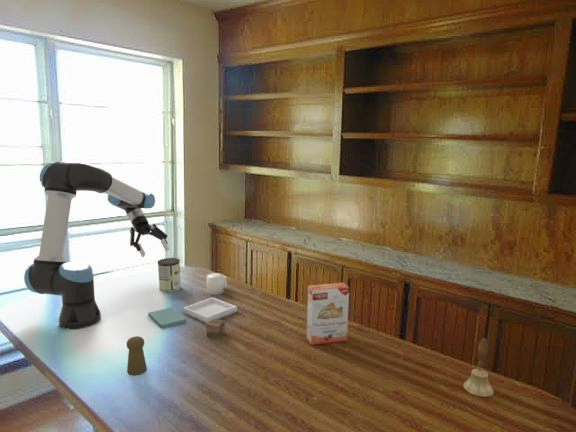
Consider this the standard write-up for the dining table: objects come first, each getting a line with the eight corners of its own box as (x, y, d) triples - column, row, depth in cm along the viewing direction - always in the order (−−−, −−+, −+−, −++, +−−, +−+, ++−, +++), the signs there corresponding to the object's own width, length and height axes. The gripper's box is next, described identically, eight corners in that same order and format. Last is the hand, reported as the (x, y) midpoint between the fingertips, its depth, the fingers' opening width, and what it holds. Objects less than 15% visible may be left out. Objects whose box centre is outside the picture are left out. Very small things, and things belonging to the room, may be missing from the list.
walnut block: (218, 338, 158) (218, 326, 158) (206, 336, 160) (206, 324, 159) (225, 333, 163) (224, 320, 162) (213, 331, 165) (213, 318, 164)
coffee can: (163, 284, 216) (162, 257, 214) (183, 285, 215) (182, 258, 213) (155, 291, 206) (154, 263, 204) (176, 292, 205) (175, 264, 203)
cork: (140, 363, 140) (138, 332, 138) (150, 370, 137) (149, 337, 135) (123, 371, 136) (121, 338, 134) (133, 378, 132) (131, 344, 130)
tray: (207, 323, 171) (207, 317, 170) (183, 313, 181) (182, 307, 181) (237, 311, 183) (236, 306, 182) (212, 302, 193) (212, 297, 193)
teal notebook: (161, 330, 166) (161, 325, 166) (148, 317, 178) (147, 312, 178) (185, 323, 172) (185, 318, 172) (171, 311, 184) (171, 307, 184)
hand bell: (485, 381, 132) (489, 332, 129) (499, 397, 124) (504, 345, 121) (458, 381, 131) (462, 332, 129) (470, 397, 123) (475, 345, 120)
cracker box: (311, 346, 153) (312, 290, 149) (306, 338, 159) (307, 284, 155) (348, 341, 157) (349, 286, 153) (341, 334, 162) (343, 281, 159)
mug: (214, 295, 201) (214, 279, 200) (203, 291, 207) (203, 275, 205) (230, 290, 209) (229, 274, 207) (219, 286, 214) (218, 271, 212)
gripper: (117, 218, 210) (135, 253, 203) (162, 212, 229) (180, 244, 222) (113, 227, 215) (130, 262, 208) (156, 220, 233) (174, 252, 226)
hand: (156, 252), depth 215 cm, fingers open, 13 cm apart
